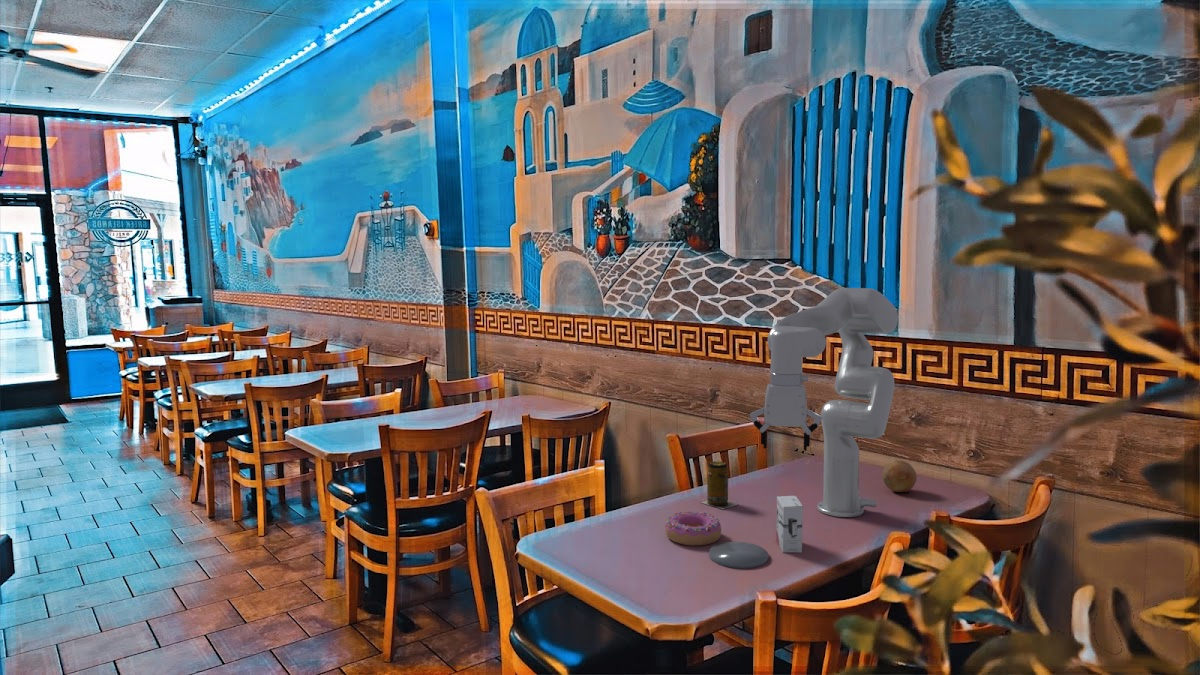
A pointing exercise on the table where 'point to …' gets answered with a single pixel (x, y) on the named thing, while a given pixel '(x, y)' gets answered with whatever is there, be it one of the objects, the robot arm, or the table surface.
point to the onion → (899, 476)
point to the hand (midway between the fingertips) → (785, 448)
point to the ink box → (789, 523)
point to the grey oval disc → (738, 555)
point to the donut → (693, 528)
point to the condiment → (718, 486)
